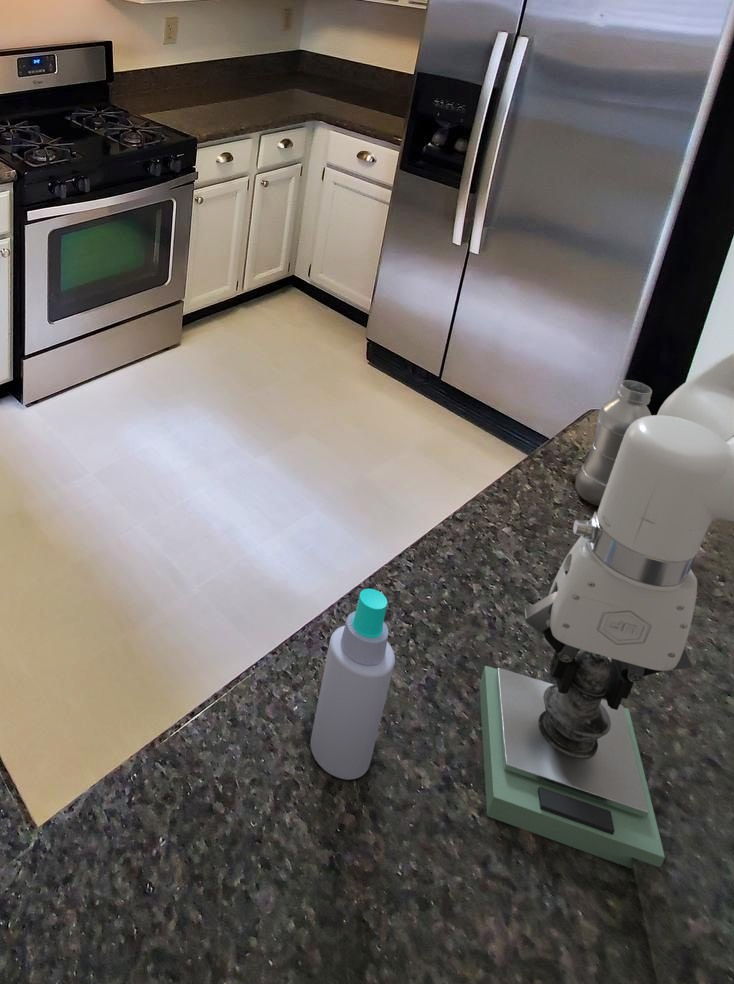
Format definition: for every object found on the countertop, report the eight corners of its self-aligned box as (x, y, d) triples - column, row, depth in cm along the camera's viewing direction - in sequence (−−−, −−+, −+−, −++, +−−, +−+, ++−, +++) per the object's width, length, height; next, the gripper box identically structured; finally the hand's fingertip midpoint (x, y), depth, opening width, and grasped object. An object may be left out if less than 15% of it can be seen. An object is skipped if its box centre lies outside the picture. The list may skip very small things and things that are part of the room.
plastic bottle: (581, 479, 125) (617, 369, 116) (629, 501, 120) (671, 389, 112) (564, 496, 121) (601, 384, 113) (613, 520, 116) (656, 405, 108)
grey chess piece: (536, 697, 85) (565, 615, 80) (601, 724, 82) (635, 640, 77) (533, 742, 80) (564, 658, 75) (601, 772, 78) (637, 686, 73)
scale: (620, 727, 86) (630, 705, 85) (655, 877, 73) (667, 853, 71) (479, 683, 91) (486, 661, 90) (486, 816, 78) (495, 792, 76)
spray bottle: (297, 741, 85) (326, 587, 76) (339, 718, 87) (372, 566, 78) (338, 792, 80) (374, 634, 71) (382, 765, 82) (422, 609, 73)
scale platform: (621, 710, 84) (623, 705, 84) (646, 818, 74) (649, 812, 74) (496, 672, 89) (497, 667, 88) (504, 769, 79) (505, 764, 78)
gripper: (539, 548, 71) (494, 691, 78) (768, 606, 65) (695, 754, 72) (531, 497, 77) (489, 633, 85) (739, 545, 71) (674, 687, 79)
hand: (585, 688), depth 78 cm, fingers closed on grey chess piece, 3 cm apart
